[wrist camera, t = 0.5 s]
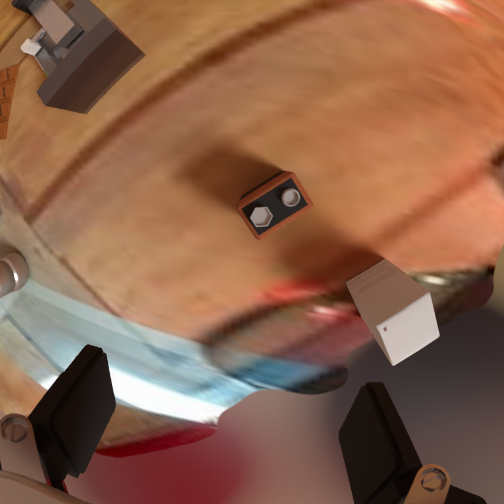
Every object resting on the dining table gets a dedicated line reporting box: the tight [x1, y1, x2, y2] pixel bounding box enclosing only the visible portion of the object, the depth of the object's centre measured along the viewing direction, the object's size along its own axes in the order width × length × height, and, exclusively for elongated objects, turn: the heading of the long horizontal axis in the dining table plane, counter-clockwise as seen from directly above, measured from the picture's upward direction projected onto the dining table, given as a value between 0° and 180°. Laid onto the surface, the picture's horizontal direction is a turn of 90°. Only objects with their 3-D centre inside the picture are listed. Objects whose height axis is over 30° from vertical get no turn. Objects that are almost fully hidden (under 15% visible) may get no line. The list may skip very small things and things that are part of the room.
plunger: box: [11, 0, 82, 48], centre depth 24 cm, size 10×18×6 cm, turn 39°
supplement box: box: [345, 259, 439, 365], centre depth 35 cm, size 7×7×13 cm
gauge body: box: [31, 0, 146, 114], centre depth 26 cm, size 12×20×10 cm, turn 39°
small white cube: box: [20, 38, 41, 56], centre depth 25 cm, size 2×2×3 cm
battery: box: [237, 171, 313, 240], centre depth 33 cm, size 4×7×10 cm, turn 123°
